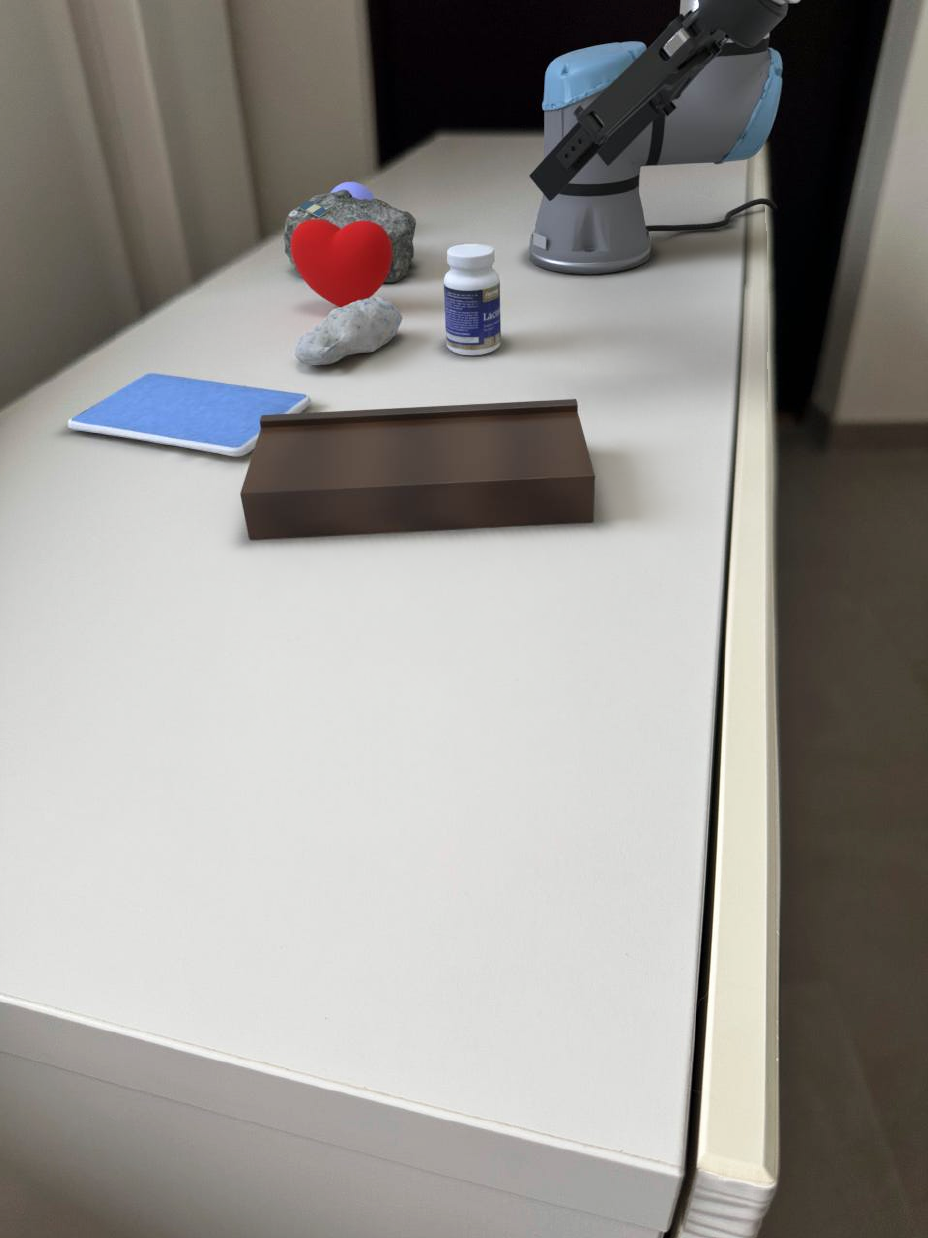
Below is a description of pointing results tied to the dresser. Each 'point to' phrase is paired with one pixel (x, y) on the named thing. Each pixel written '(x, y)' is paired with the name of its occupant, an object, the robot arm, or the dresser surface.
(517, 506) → the ledge
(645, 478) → the dresser surface
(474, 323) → the pill bottle
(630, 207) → the robot arm
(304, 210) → the rock
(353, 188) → the sphere
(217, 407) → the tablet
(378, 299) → the decorative stone
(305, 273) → the heart
